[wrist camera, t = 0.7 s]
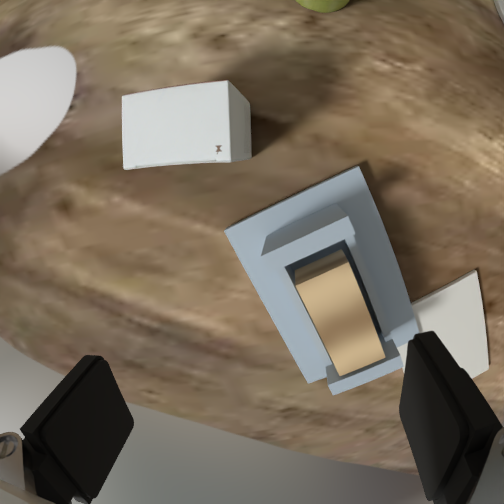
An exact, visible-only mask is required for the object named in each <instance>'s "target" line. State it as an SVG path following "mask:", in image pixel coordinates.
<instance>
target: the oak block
mask: <svg viewBox="0 0 504 504" xmlns="http://www.w3.org/2000/svg"><path fill="white" fill-rule="evenodd" d="M295 286H296V288H297V290H298V292H299V294H300V296H301V298H302V300H303V302H304V304H305V306H306V308H307V310H308V312H309V314H310V316H311V318H312V320H313V322H314V324H315V326H316V328H317V330H318V333H319V335H320V337H321V339H322V341H323V343H324V345H325V347H326V349H327V351H328V353H329V355H330V357H331V359H332V361H333V363H334V365H335V368H336V370H337V372H338V374H339V376H342V375H345V374H347V373H350V372H352V371H355V370H357V369H360V368H362V367H364V366H367V365H369V364H372V363H374V362H376V361H379V360H381V359H383V358H385V354H384V352H383V349H382V346H381V343H380V340H379V338H378V335H377V332H376V330H375V327H374V324H373V322H372V319H371V316H370V314H369V311H368V309H367V306H366V304H365V301H364V299H363V296H362V294H361V291H360V289H359V286H358V284H357V281H356V279H355V276H354V274H353V272H352V269H351V267H350V264H349V262H348V260H347V258H346V256H345V254H344V252H343V251H342V249H341V250H339V251H336V252H334V253H332V254H330V255H328V256H325V257H323V258H321V259H319V260H317V261H314V262H312V263H310V264H308V265H306V266H303V267H301V268H299V269H297V270H295Z"/></svg>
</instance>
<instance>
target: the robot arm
mask: <svg viewBox="0 0 504 504" xmlns="http://www.w3.org/2000/svg"><path fill="white" fill-rule="evenodd" d="M494 2H495V6H496V9H497V11H498V13H499V16H500V17H501V19H502V21H503V23H504V0H494ZM399 413H400V418H401V421H402V424H403V426H404V429H405V432H406V435H407V438H408V441H409V444H410V447H411V450H412V453H413V456H414V459H415V462H416V465H417V469H418V472H419V475H420V478H421V481H422V485H423V488H424V492H425V495H426V498H427V500H428V501H431V500H433V502H434V504H504V427H503V426H502V425H501V423H500V422H499V420H498V418H497V417H496V415H495V414H494V412H493V410H492V409H491V407H490V406H489V404H488V403H487V401H486V400H485V398H484V396H483V395H482V393H481V392H480V390H479V389H478V387H477V386H476V384H475V383H474V382H473V380H472V379H471V377H470V376H469V374H468V373H467V371H466V370H465V369H464V368H460V366H459V365H458V364H457V362H456V361H455V359H454V358H453V356H452V355H451V354H450V352H449V351H448V349H447V348H446V347H445V345H444V344H443V342H442V341H441V340H440V338H439V337H438V336H437V334H436V333H435V332H434V331H427V332H422V333H417V334H415V335H414V337H413V339H411V340H409V341H408V346H407V356H406V364H405V372H404V379H403V386H402V393H401V399H400V405H399ZM133 426H134V420H133V417H132V415H131V413H130V411H129V409H128V407H127V405H126V403H125V401H124V398H123V396H122V394H121V392H120V390H119V387H118V385H117V383H116V380H115V378H114V376H113V373H112V371H111V369H110V366H109V364H108V362H107V361H105V360H104V358H103V357H102V356H95V355H85V356H84V357H83V358H82V359H81V360H80V361H79V362H78V363H77V364H76V365H75V367H74V368H73V369H72V370H71V371H70V372H69V373H68V374H67V375H66V377H65V378H64V379H63V380H62V381H61V382H60V383H59V384H58V385H57V387H56V388H55V389H54V390H53V391H52V392H51V393H50V395H49V396H48V397H47V398H46V399H45V400H44V402H43V403H42V404H41V405H40V406H39V407H38V409H37V410H36V411H35V412H34V413H33V414H32V415H31V417H30V418H29V419H28V420H27V421H26V422H25V424H24V425H23V426H22V427H21V428H20V430H21V432H22V433H23V435H24V436H25V438H24V440H22V438H21V437H20V436H19V435H18V434H16V433H14V432H6V433H3V434H0V504H72V502H71V500H72V498H73V497H74V499H75V500H77V501H78V502H81V503H84V504H90V503H91V501H92V499H93V498H96V497H97V496H98V494H99V492H100V490H101V488H102V486H103V484H104V482H105V480H106V478H107V476H108V474H109V472H110V471H111V469H112V467H113V465H114V463H115V461H116V459H117V457H118V455H119V453H120V452H121V450H122V448H123V446H124V444H125V442H126V440H127V438H128V436H129V435H130V432H131V430H132V429H133Z"/></svg>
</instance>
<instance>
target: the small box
mask: <svg viewBox="0 0 504 504" xmlns="http://www.w3.org/2000/svg"><path fill="white" fill-rule="evenodd" d="M122 140H123V167H124V169H125V170H129V169H136V168H144V167H154V166H165V165H178V164H192V163H211V162H234V161H241V160H247V159H251V158H252V154H251V116H250V103H249V102H248V100H247V99H246V98H245V97H244V96H243V95H242V94H241V93H240V92H239V91H238V90H237V89H236V87H235V86H234V85H233V84H232V83H231V82H230V81H229V80H220V81H210V82H201V83H193V84H185V85H178V86H171V87H165V88H159V89H153V90H147V91H141V92H136V93H132V94H127V95H123V96H122Z"/></svg>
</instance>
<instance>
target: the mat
mask: <svg viewBox="0 0 504 504" xmlns="http://www.w3.org/2000/svg"><path fill="white" fill-rule="evenodd" d="M411 306H412V309H413V313H414V316H415V320H416V323H417V327H418V330H419V333H422V332H427V331H434V332H435V333H436V334H437V336H438V337H439V338H440V340H441V341H442V342H443V344H444V345H445V347H446V348H447V349H448V351H449V352H450V354H451V355H452V356H453V358H454V359H455V361H456V362H457V364H458V365H459V366H460V368H464V369H465V370H466V371H467V373H468V374H469V376H470V377H471V379H472V378H474V377H476V376H477V375H479V374H481V373H482V372H484V371H486V370H488V369H489V364H488V349H487V338H486V328H485V320H484V312H483V305H482V299H481V292H480V286H479V281H478V275H477V271H476V270H473V271H471V272H469V273H467V274H465V275H464V276H462V277H460V278H458V279H456V280H455V281H453V282H451V283H449V284H447V285H445V286H443V287H441V288H440V289H438V290H436V291H434V292H432V293H430V294H428V295H426V296H424V297H422V298H420V299H418V300H416V301H414V302H412V303H411ZM407 346H408V343H406V344H404V345H402V346H400V347H397V349H398V351H399V353H400V356H401V359H402V362H403V365H404V367H402V368H403V372H405V364H406V356H407Z"/></svg>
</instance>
